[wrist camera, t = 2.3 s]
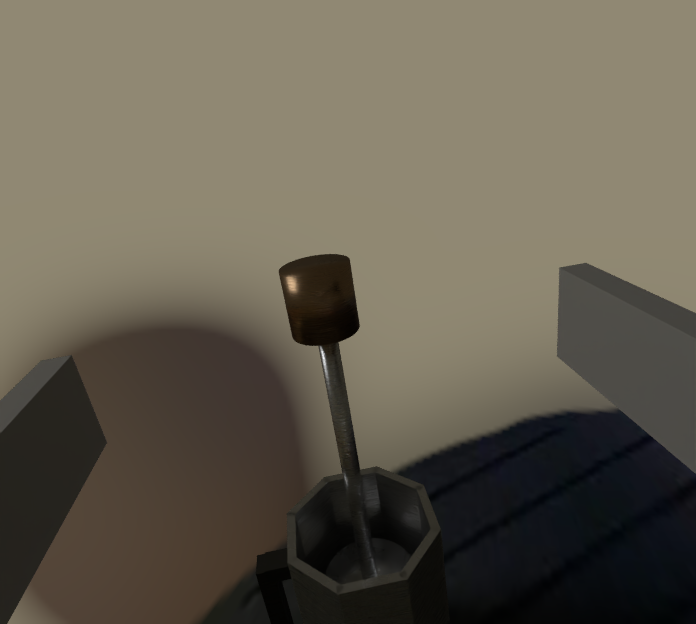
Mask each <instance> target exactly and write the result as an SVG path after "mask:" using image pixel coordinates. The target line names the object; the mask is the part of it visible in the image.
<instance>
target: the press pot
mask: <svg viewBox="0 0 696 624" xmlns="http://www.w3.org/2000/svg"><path fill="white" fill-rule="evenodd" d="M360 472H361V478H362V484H363V490H364V496H365V502H366V508H367V514H368V519H369V525H370V531H371V537H372V538H380V539H385V540H389V541H392V542H394V543H396V544H398V545H399V546H401V547H402V548H403V549H405V550H406V551H407V552H408V554H409V555H410V556H411V558H410V559H409V561H408V562H407V564H406V565H405V567H404V568H403V570H402V571H401V572H397V573H392V574H388V575H383V576H378V577H374V578H369V579H365V580H360V581H356V582H351V583H346V584H342V585H340V584H339V583H337V582H336V581H334V580H332V579H331V578H329V577H327V576H326V575H325V573H326V570H327V567H328V565H329V563H330V562H331V560H332V559H333V557H334V556H335V555H336V554H337V553H338V552H339V551H340V550H341V549H343V548H344V547H346V546H347V545H349V544H351V543H353V542H355V537H354V532H353V526H352V521H351V516H350V510H349V505H348V500H347V494H346V489H345V484H344V479H343V474H338V475H333V476H328V477H324V478H323V479H322V480H321V481H320V482H319V483H318V484H317V485H316V486H315V487H314V488H313V489H312V490H311V491H310V492H309V493H308V494H307V495H306V496H305V497H303V499H301V501H299V503H297V504H296V505H295V506H294V507H293V508H292V509H291V510H290V511H289V512H288V513H287V548H285V549H280V550H276V551H271V552H266V553H265V554H262V555H258V556H257V567H256V576H257V579H258V582H259V586H260V589H261V592H262V595H263V599H264V602H265V605H266V608H267V612H268V615H269V618H270V622H271V624H294V623H293V620H292V616H291V612H290V609H289V605H288V602H287V598H286V595H285V591H284V587H283V584H282V581H283V580H287V579H292V582H293V586H294V590H295V593H296V597H297V601H298V605H299V608H300V612H301V616H302V620H303V623H304V624H450V619H449V608H448V598H447V587H446V577H445V566H444V556H443V545H442V535H441V529H440V527H439V524H438V522H437V519H436V516H435V514H434V511H433V509H432V506H431V503H430V501H429V498H428V496H427V493H426V490H425V488H424V485H422V484H419V483H417V482H414V481H412V480H409V479H407V478H404V477H402V476H399V475H397V474H394V473H392V472H389V471H387V470H384V469H382V468H379V467H372V468H367V469H362V470H360Z"/></svg>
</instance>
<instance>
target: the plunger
mask: <svg viewBox="0 0 696 624" xmlns="http://www.w3.org/2000/svg"><path fill="white" fill-rule="evenodd" d="M279 275H280V280H281V285H282V289H283V294H284V299H285V304H286V309H287V313H288V318H289V323H290V327H291V332H292V337H293V339H294V340H295V341H296V342H297V343H300V344H303V345H309V346H319V351H320V357H321V362H322V367H323V372H324V378H325V383H326V388H327V393H328V399H329V404H330V409H331V415H332V420H333V425H334V430H335V435H336V441H337V446H338V452H339V457H340V463H341V468H342V473H343V479H344V484H345V489H346V494H347V500H348V505H349V510H350V516H351V521H352V526H353V532H354V537H355V542H353V543H351V544H349V545H347V546H346V547H344V548H343V549H341V550H340V551H339V552H338V553H337V554H336V555H335V556H334V557H333V559H332V560H331V562H330V563H329V565H328V567H327V570H326V573H325V575H326V576H327V577H329V578H331V579H332V580H334V581H336V582H337V583H339V584H340V585H342V584H346V583H351V582H356V581H360V580H365V579H369V578H374V577H378V576H383V575H388V574H392V573H397V572H401V571H402V570H403V568H404V567H405V565H406V564H407V562H408V561H409V559H410V558H411V556H410V555H409V554H408V552H407V551H406V550H405V549H403V548H402V547H401V546H399V545H398V544H396V543H394V542H392V541H389V540H385V539H380V538H372V537H371V531H370V525H369V519H368V514H367V508H366V502H365V496H364V490H363V484H362V478H361V472H360V467H359V461H358V455H357V449H356V444H355V437H354V431H353V425H352V420H351V414H350V408H349V402H348V396H347V390H346V385H345V378H344V373H343V367H342V361H341V355H340V349H339V343H338V342H340V341H343V340H345V339H347V338H349V337H351V336H352V335H354V334H355V333H356V332H357V331H358V329H359V318H358V312H357V305H356V298H355V291H354V285H353V278H352V272H351V265H350V259H349V258H348V257H347V256H344V255H338V254H325V255H315V256H310V257H305V258H301V259H298V260H295V261H292V262H290V263H287V264H286V265H284V266H282V267H281V268H280V269H279Z"/></svg>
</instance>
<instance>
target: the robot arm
mask: <svg viewBox="0 0 696 624" xmlns="http://www.w3.org/2000/svg"><path fill="white" fill-rule="evenodd" d="M558 306H559V307H558V342H557V346H558V347H557V356H558V357H559V358H560V359H561V360H562V361H564V362H565V363H566V364H567V365H568V366H569V367H570V368H572V369H573V370H574V371H575V372H576V373H578V374H579V375H580V376H581V377H582V378H583V379H585V380H586V381H587V382H588V383H589V384H590V385H592V386H593V387H594V388H595V389H596V390H598V391H599V392H600V393H601V394H602V395H603V396H605V397H606V398H607V399H608V400H609V401H611V402H612V403H613V404H614V405H615V406H616V407H618V408H619V409H620V410H621V411H622V412H623V413H625V414H626V415H627V416H628V417H629V418H631V419H632V420H633V421H634V422H635V423H636V424H638V425H639V426H640V427H641V428H642V429H644V430H645V431H646V432H647V433H648V434H649V435H651V436H652V437H653V438H654V439H655V440H657V441H658V442H659V443H660V444H661V445H662V446H664V447H665V448H666V449H667V450H668V451H670V452H671V453H672V454H673V455H674V456H675V457H677V458H678V459H679V460H680V461H681V462H683V463H684V464H685V465H686V466H687V467H688V468H690V469H691V470H692V471H693V472H694V473H696V313H694V312H692V311H690V310H688V309H685V308H683V307H681V306H679V305H677V304H674V303H672V302H670V301H668V300H665V299H664V298H661V297H659V296H657V295H655V294H653V293H650V292H648V291H646V290H644V289H642V288H640V287H637V286H635V285H633V284H631V283H629V282H626V281H624V280H622V279H620V278H618V277H615V276H613V275H611V274H609V273H607V272H605V271H603V270H600V269H598V268H596V267H594V266H591V265H589V264H587V263H583V264H577V265H572V266H566V267H561V268H559V304H558ZM106 443H107V442H106V439H105V436H104V434H103V431H102V429H101V426H100V424H99V422H98V419H97V417H96V414H95V412H94V409H93V407H92V404H91V402H90V399H89V397H88V394H87V392H86V389H85V387H84V384H83V382H82V380H81V377H80V375H79V372H78V370H77V367H76V365H75V362H74V360H73V358H72V355H70V356H65V357H59V358H53V359H48V360H42V361H40V362H39V363H38V364H37V365H36V366H35V367H34V368H33V369H32V370H31V371H30V372H29V373H28V374H27V375H26V376H25V377H24V378H23V379H22V380H21V381H20V382H19V383H18V384H17V385H16V386H15V387H14V388H13V389H12V390H11V391H10V392H9V393H8V394H7V395H6V396H5V397H4V398H3V399H1V401H0V624H7V623H8V621H9V619H10V618H11V616H12V614H13V612H14V610H15V609H16V607H17V605H18V603H19V601H20V599H21V598H22V596H23V594H24V592H25V590H26V589H27V587H28V585H29V583H30V581H31V579H32V578H33V576H34V574H35V572H36V570H37V569H38V567H39V565H40V563H41V561H42V560H43V558H44V556H45V554H46V552H47V550H48V548H49V547H50V545H51V543H52V541H53V540H54V538H55V536H56V534H57V532H58V531H59V528H60V527H61V525H62V523H63V521H64V520H65V518H66V516H67V514H68V512H69V511H70V509H71V507H72V505H73V503H74V501H75V500H76V498H77V496H78V494H79V492H80V491H81V489H82V487H83V485H84V483H85V481H86V480H87V478H88V476H89V474H90V472H91V471H92V469H93V467H94V465H95V463H96V461H97V460H98V458H99V456H100V454H101V452H102V451H103V449H104V447H105V445H106Z"/></svg>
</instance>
